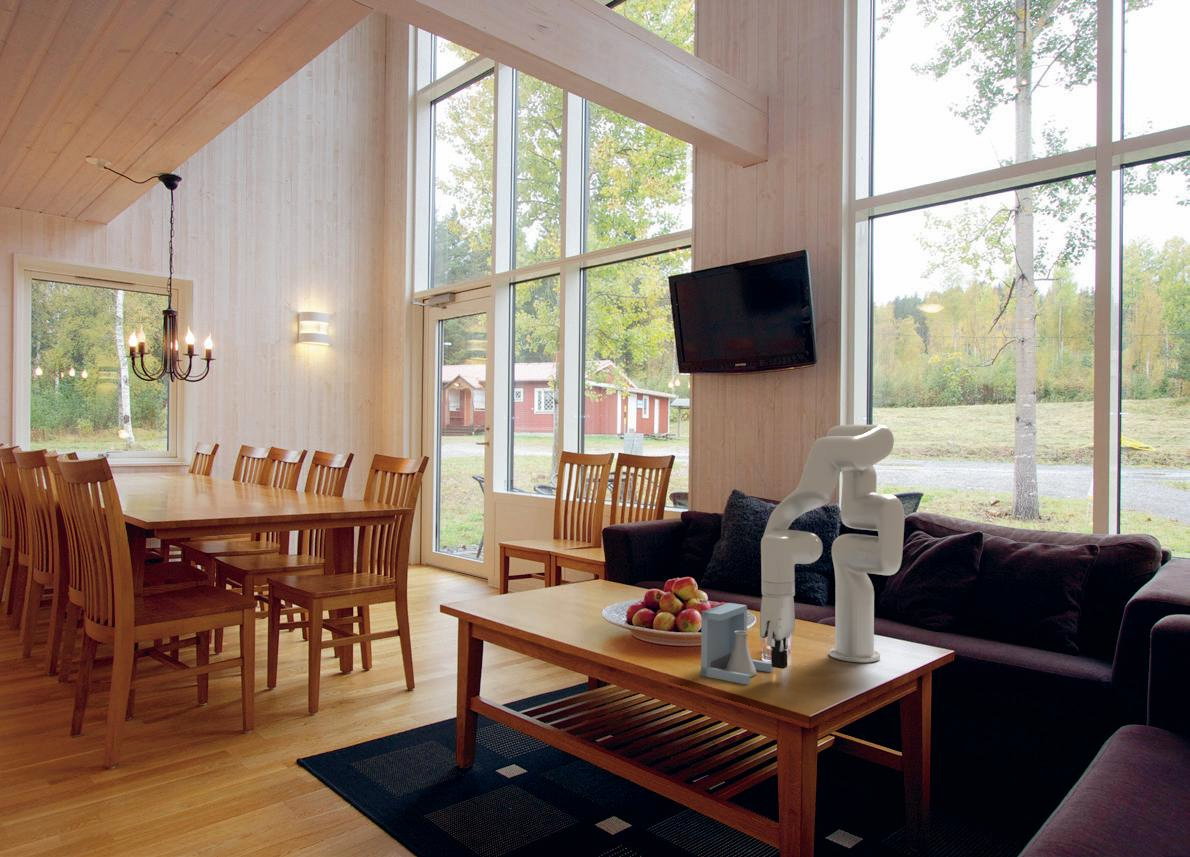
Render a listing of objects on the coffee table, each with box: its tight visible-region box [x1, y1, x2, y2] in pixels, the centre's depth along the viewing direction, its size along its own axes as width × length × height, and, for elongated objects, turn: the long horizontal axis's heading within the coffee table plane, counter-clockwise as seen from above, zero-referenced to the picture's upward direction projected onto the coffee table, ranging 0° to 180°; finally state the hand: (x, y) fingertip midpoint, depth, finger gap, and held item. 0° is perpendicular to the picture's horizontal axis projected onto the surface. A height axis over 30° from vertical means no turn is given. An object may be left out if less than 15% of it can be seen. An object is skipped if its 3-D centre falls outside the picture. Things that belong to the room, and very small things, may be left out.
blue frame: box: [700, 602, 774, 686], centre depth 194 cm, size 14×12×15 cm
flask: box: [724, 631, 758, 678], centre depth 193 cm, size 7×7×10 cm
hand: (779, 667), depth 188 cm, fingers closed
